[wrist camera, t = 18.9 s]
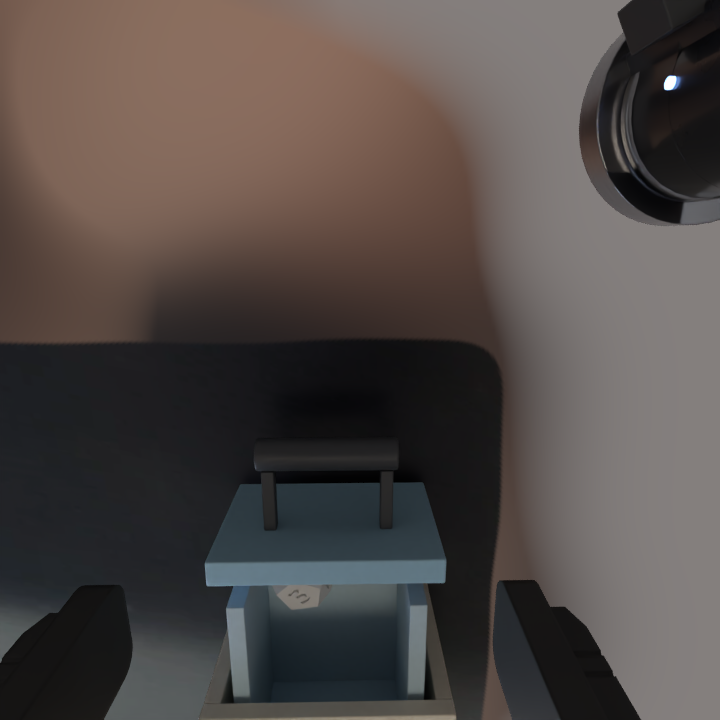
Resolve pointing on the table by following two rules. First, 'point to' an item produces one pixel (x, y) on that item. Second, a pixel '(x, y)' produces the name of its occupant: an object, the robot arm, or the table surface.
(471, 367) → the table surface
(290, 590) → the game die
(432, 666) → the beige drawer box
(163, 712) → the table surface
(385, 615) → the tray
